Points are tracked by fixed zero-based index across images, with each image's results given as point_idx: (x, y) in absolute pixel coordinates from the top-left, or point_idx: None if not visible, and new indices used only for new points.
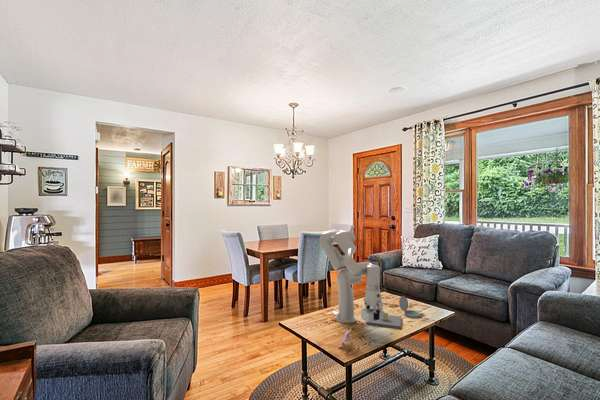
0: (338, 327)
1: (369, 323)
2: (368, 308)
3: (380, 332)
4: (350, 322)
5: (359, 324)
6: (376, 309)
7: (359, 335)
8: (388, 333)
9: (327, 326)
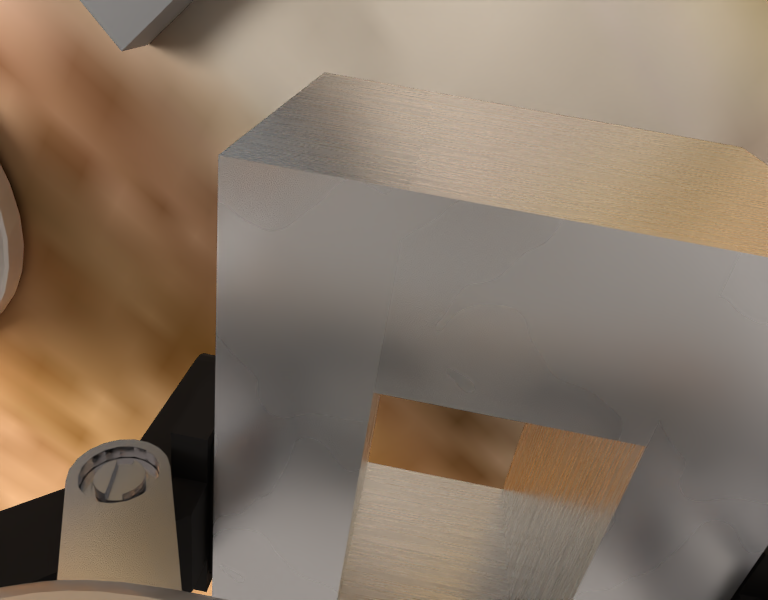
0: (89, 444)
1: (178, 5)
2: (259, 575)
3: (569, 108)
4: (15, 256)
5: (105, 155)
6: (488, 402)
7: (417, 432)
8: (723, 3)
9: (21, 502)
